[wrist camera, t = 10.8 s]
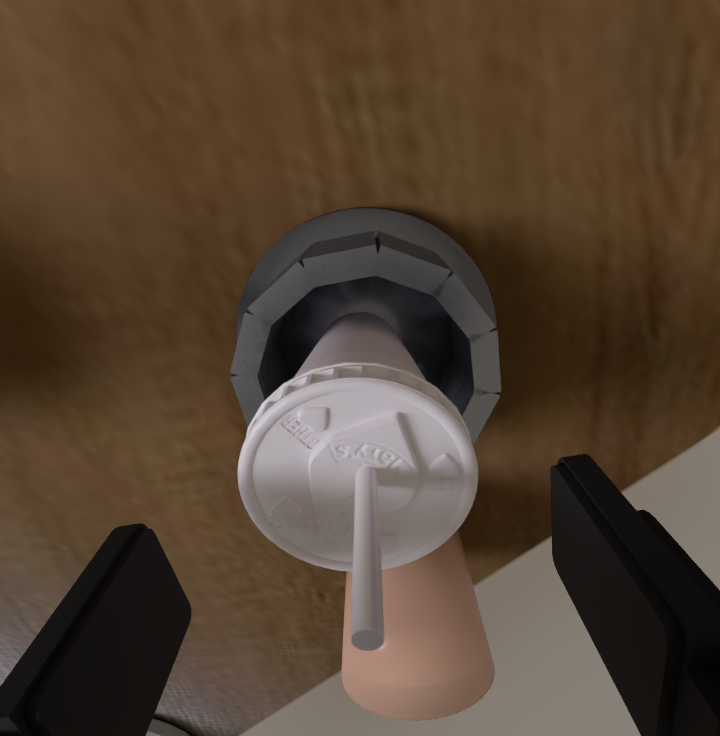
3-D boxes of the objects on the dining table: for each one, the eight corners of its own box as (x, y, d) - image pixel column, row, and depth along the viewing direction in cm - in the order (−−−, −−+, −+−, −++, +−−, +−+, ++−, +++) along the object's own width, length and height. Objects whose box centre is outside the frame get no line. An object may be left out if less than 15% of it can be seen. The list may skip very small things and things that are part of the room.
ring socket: (499, 425, 22) (531, 485, 18) (279, 459, 24) (259, 524, 19) (482, 180, 18) (520, 182, 13) (206, 237, 19) (157, 256, 14)
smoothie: (454, 316, 19) (632, 593, 6) (392, 428, 22) (434, 790, 9) (322, 258, 18) (223, 448, 5) (273, 381, 21) (125, 714, 8)
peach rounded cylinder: (456, 543, 26) (499, 713, 18) (360, 556, 27) (357, 726, 18) (446, 463, 24) (489, 617, 15) (339, 479, 24) (326, 636, 16)
